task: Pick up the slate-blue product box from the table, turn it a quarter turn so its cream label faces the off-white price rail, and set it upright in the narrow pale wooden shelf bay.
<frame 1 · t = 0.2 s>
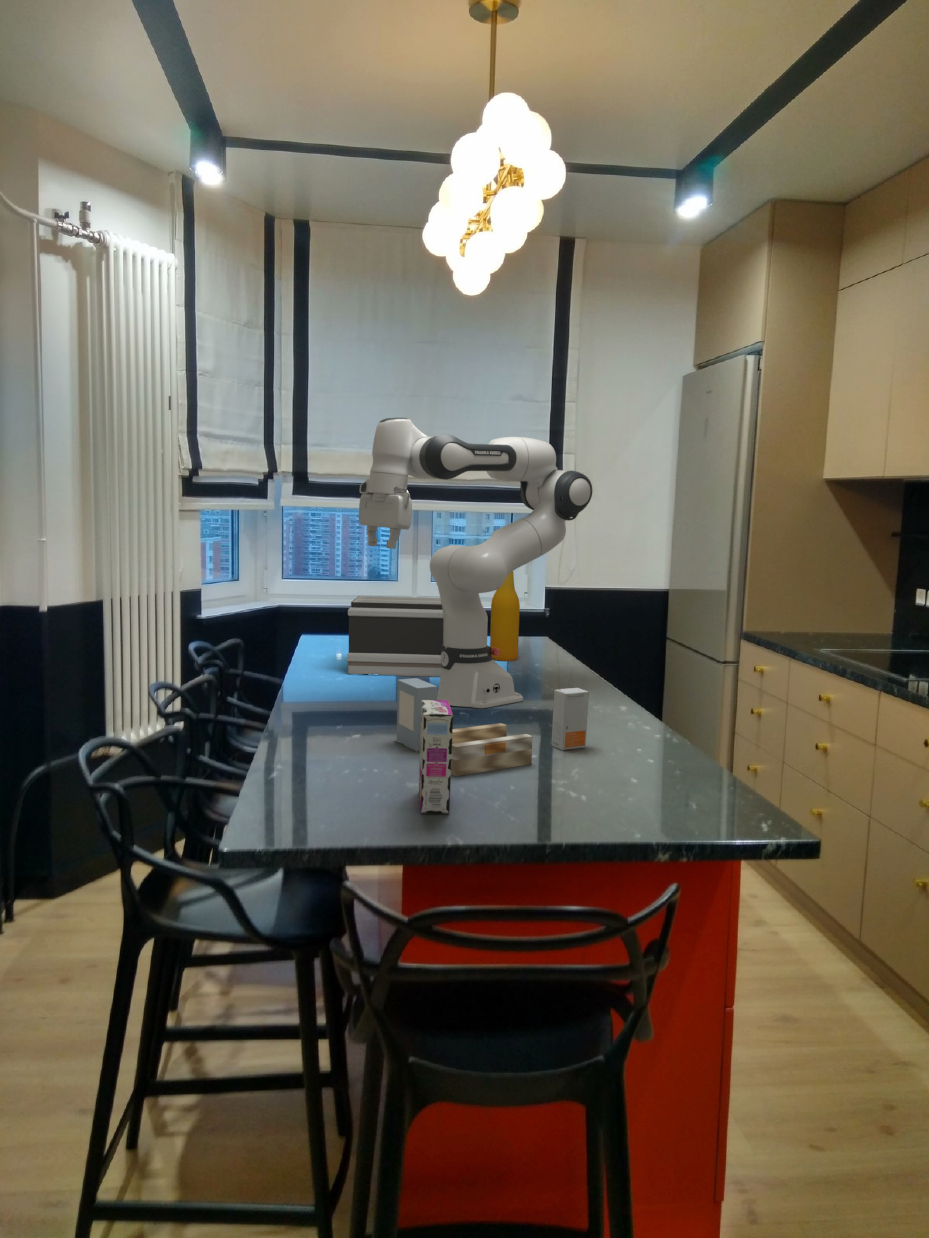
hand: (381, 547, 200), 39 cm above the kitchen island, tool pointing down, fingers open, 8 cm apart
product box: (415, 744, 177), on the kitchen island
skincare box: (568, 747, 178), on the kitchen island
shelf: (479, 762, 166), on the kitchen island
toaster: (408, 671, 255), on the kitchen island
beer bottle: (503, 659, 278), on the kitchen island
candy bar box: (434, 803, 143), on the kitchen island
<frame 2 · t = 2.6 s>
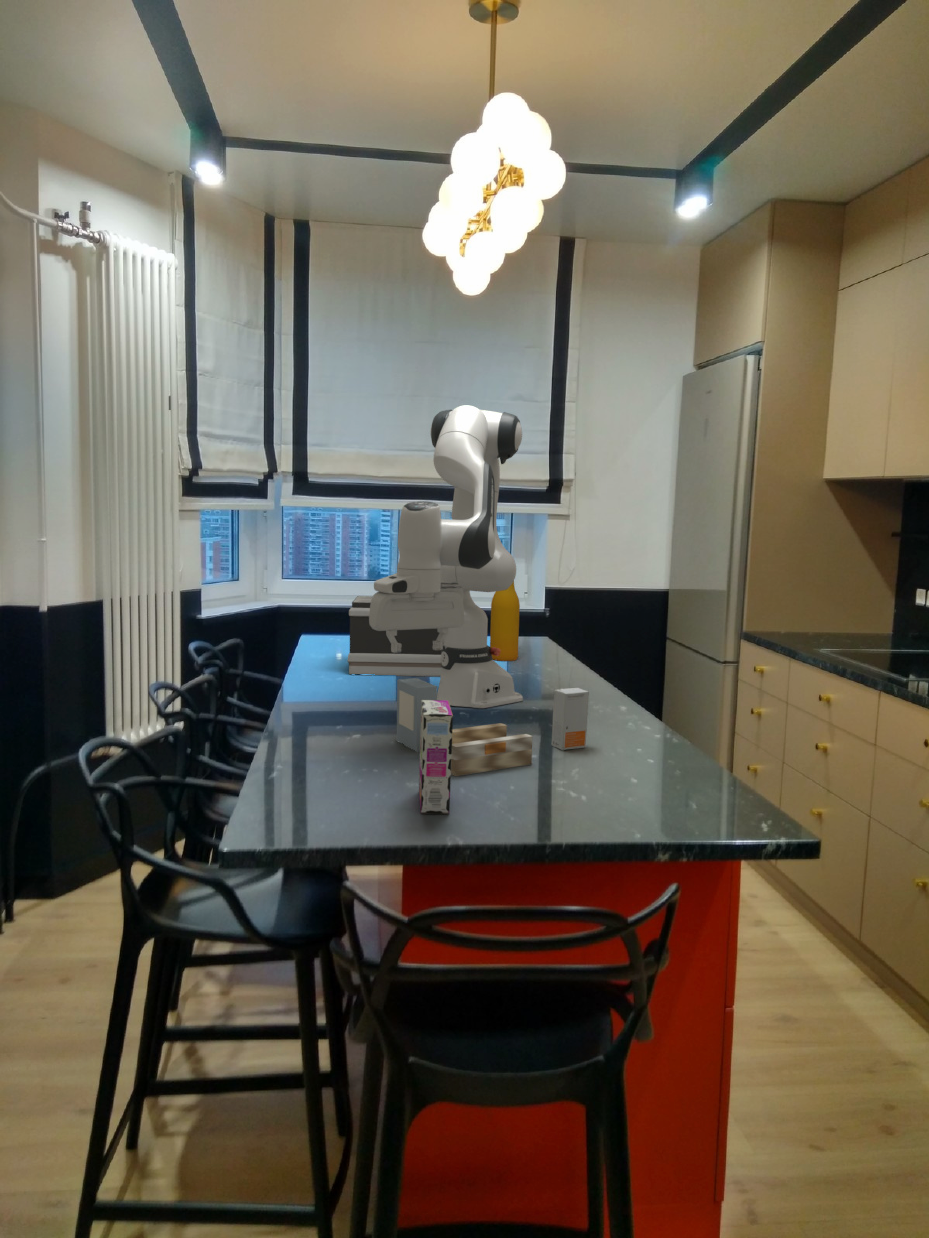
hand: (417, 651, 174), 20 cm above the kitchen island, tool pointing down, fingers open, 8 cm apart
nothing on the kitchen island moved.
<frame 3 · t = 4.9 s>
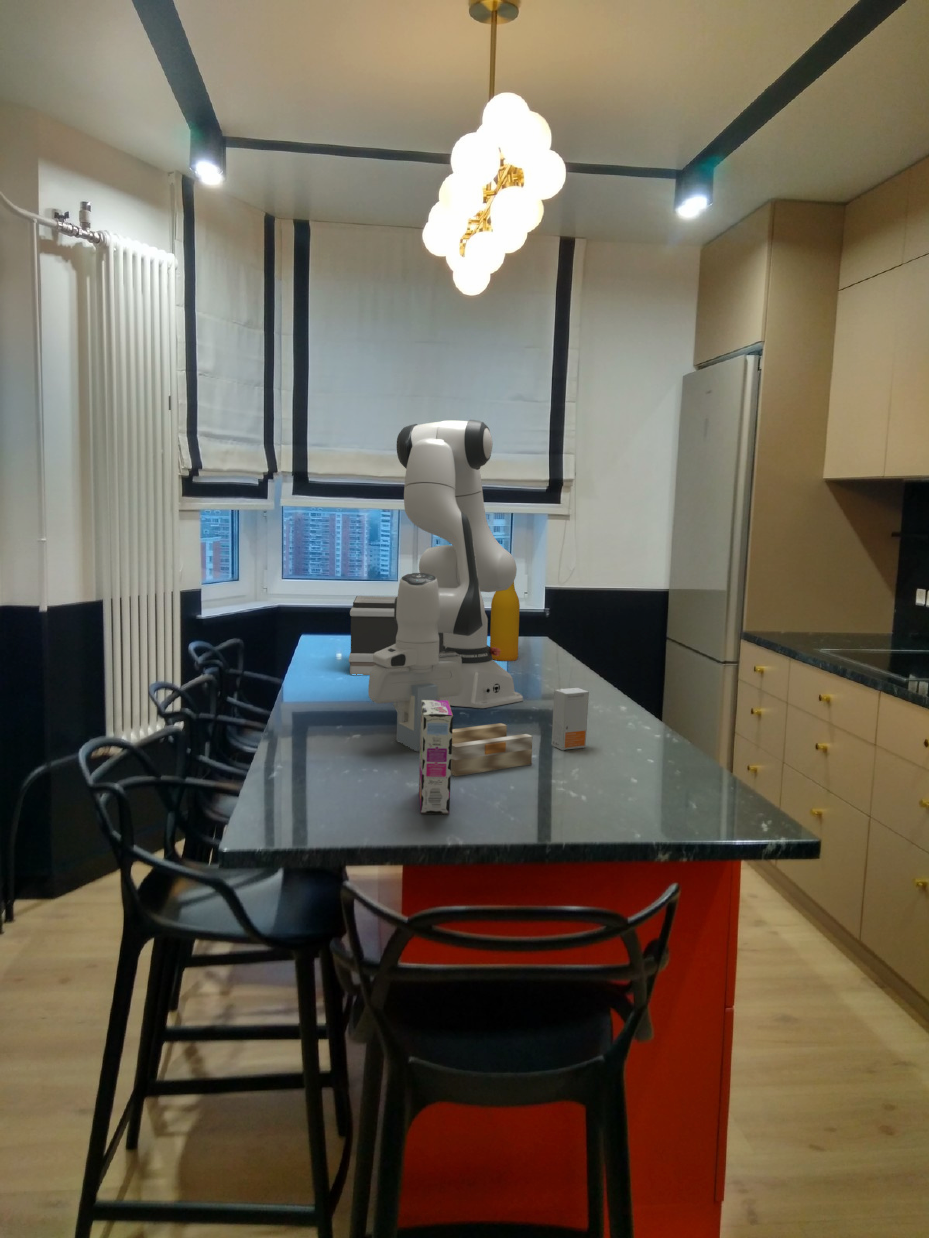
hand: (416, 720, 176), 5 cm above the kitchen island, tool pointing down, fingers closed on product box, 5 cm apart
product box: (415, 744, 177), on the kitchen island, touching gripper
everything else where it was.
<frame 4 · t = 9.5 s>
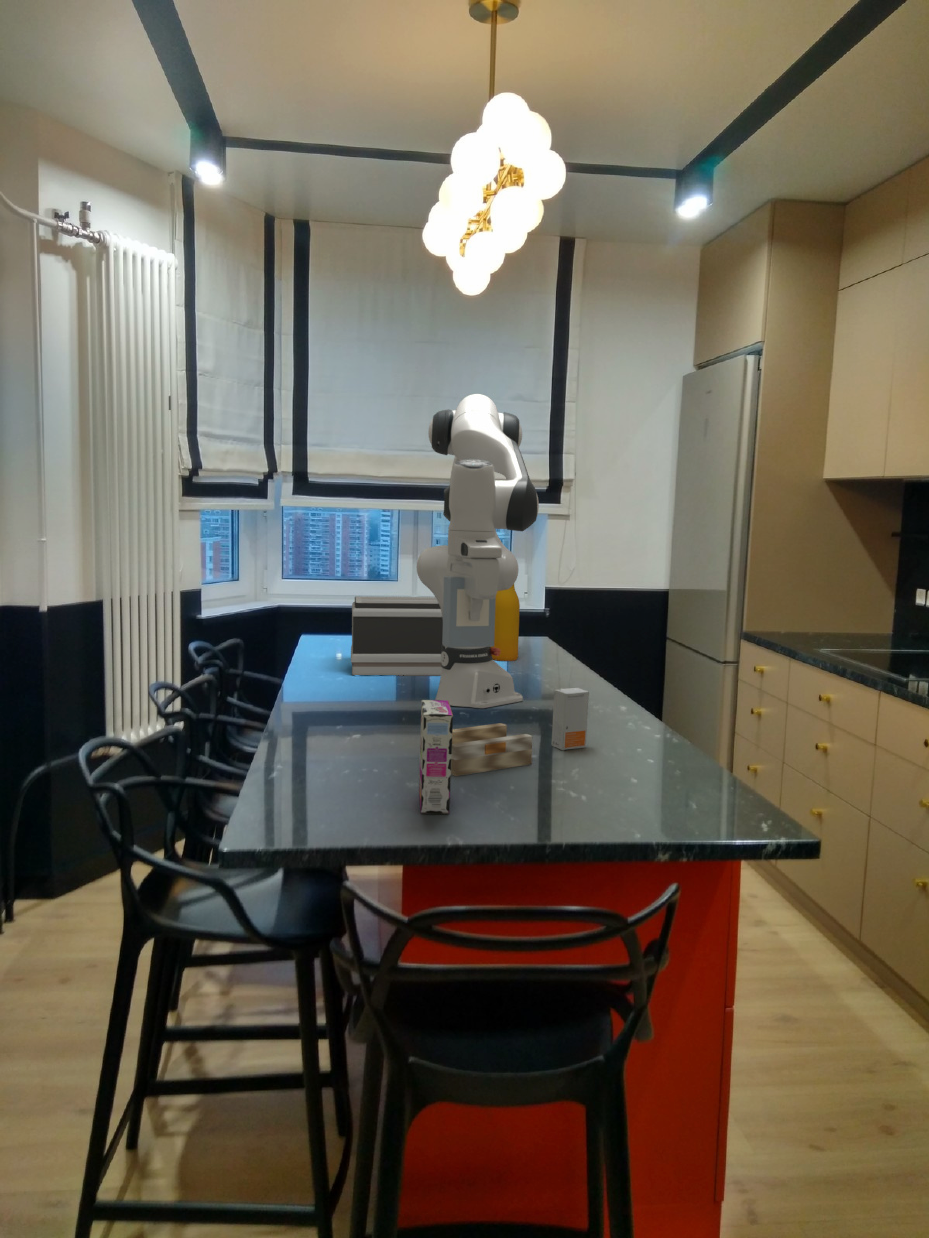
hand: (468, 618, 164), 28 cm above the kitchen island, tool pointing down, fingers closed on product box, 5 cm apart
product box: (468, 645, 165), point 23 cm above the kitchen island, touching gripper
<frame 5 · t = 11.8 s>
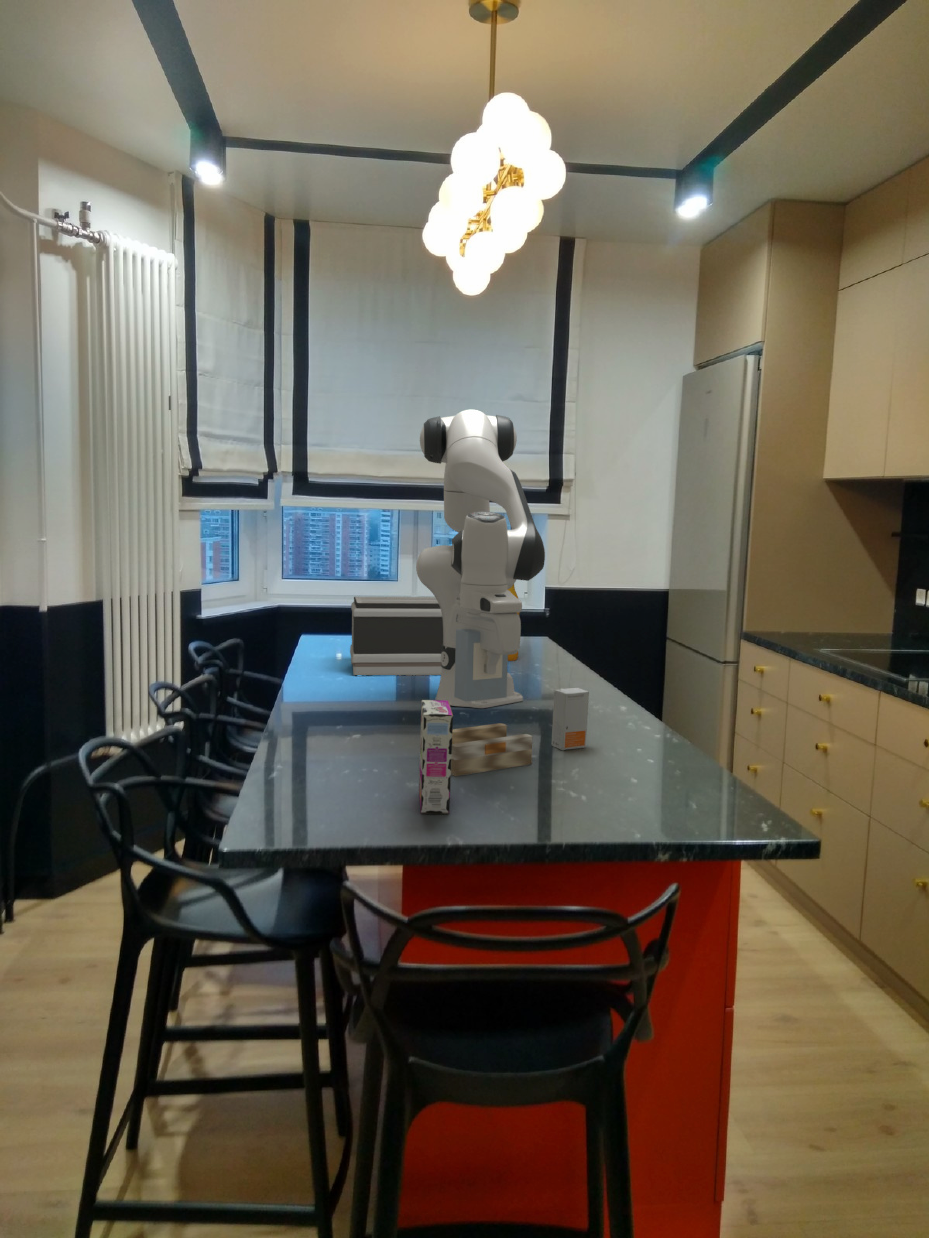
hand: (481, 670, 164), 18 cm above the kitchen island, tool pointing down, fingers closed on product box, 5 cm apart
product box: (480, 697, 164), point 13 cm above the kitchen island, touching gripper
when the fingers open (10 cm above the kitchen island, at t = 14.1 s): product box drops 1 cm, resting on shelf.
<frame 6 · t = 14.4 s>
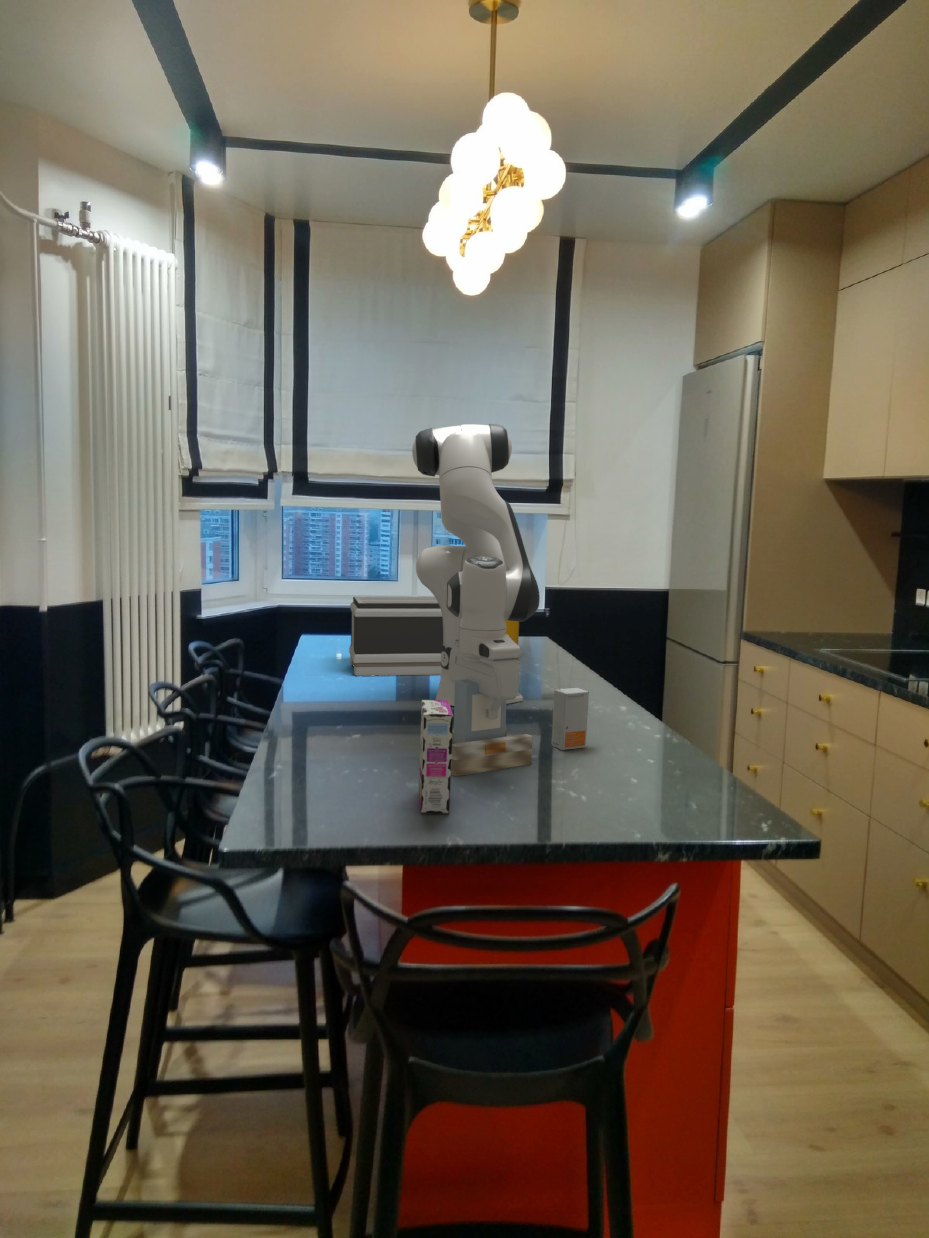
hand: (480, 713, 165), 10 cm above the kitchen island, tool pointing down, fingers open, 7 cm apart
product box: (479, 746, 166), point 3 cm above the kitchen island, touching shelf
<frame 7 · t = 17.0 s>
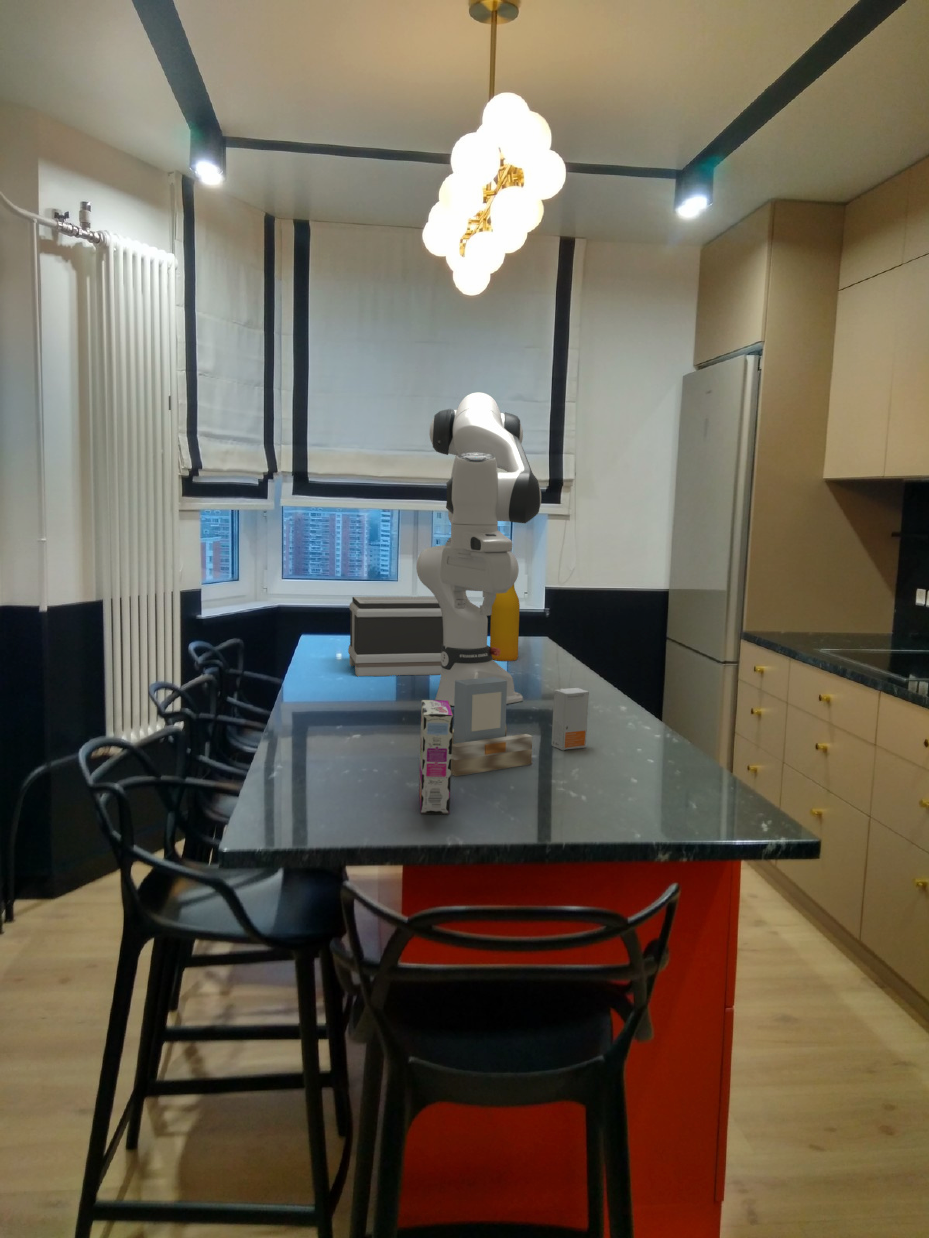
hand: (472, 611, 165), 29 cm above the kitchen island, tool pointing down, fingers open, 8 cm apart
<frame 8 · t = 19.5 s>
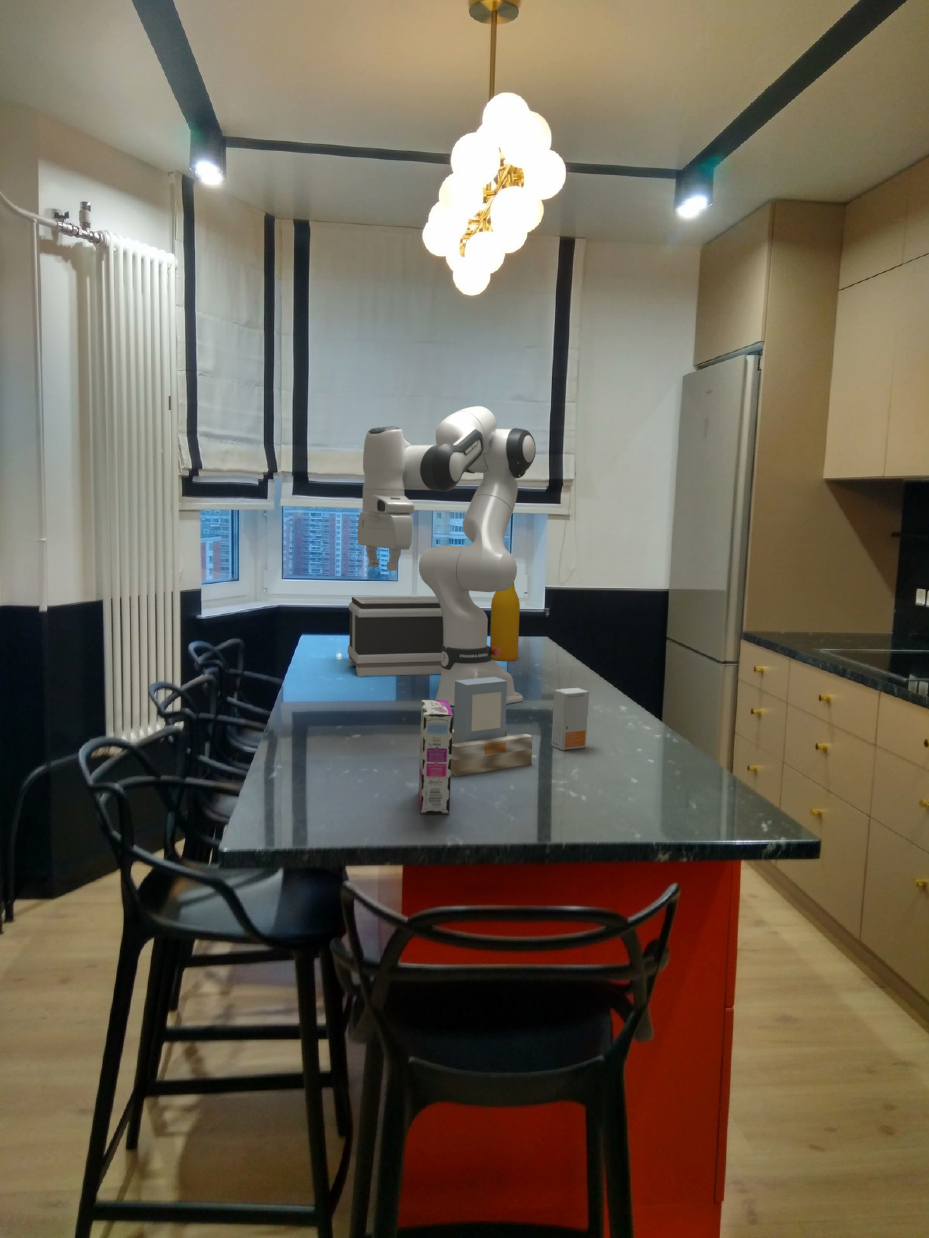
hand: (382, 568, 185), 35 cm above the kitchen island, tool pointing down, fingers open, 8 cm apart
at the end: product box inside the target area on the shelf (0.2 cm from its centre), point 3.0 cm above the shelf's base; product box tilted 0°; the gripper is holding nothing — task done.
